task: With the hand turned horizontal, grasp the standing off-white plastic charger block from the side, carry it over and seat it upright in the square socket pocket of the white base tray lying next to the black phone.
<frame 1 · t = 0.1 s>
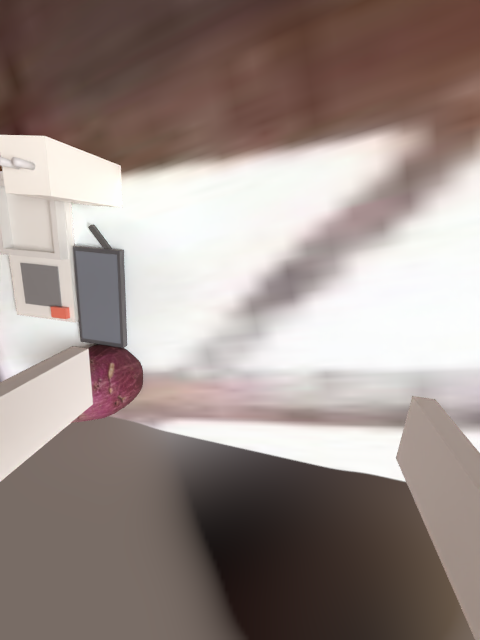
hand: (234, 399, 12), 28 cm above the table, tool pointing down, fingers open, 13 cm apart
white base tray: (44, 249, 43), on the table
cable: (91, 254, 42), on the table
phone: (103, 297, 44), on the table
vegetable: (114, 372, 47), on the table
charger: (104, 186, 39), on the table
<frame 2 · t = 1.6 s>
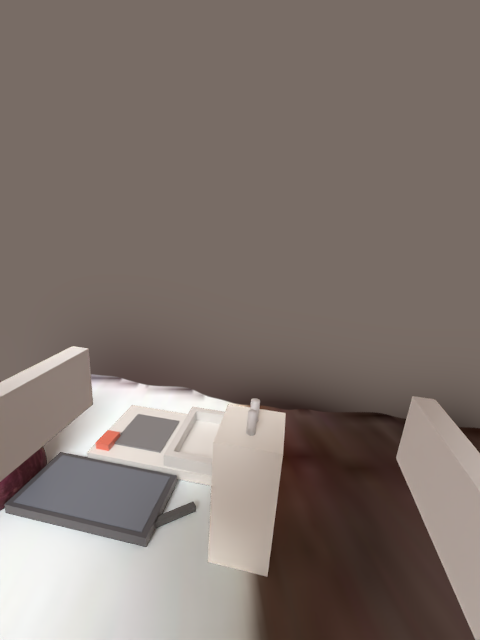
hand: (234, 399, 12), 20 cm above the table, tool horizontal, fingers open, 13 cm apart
white base tray: (185, 447, 38), on the table
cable: (160, 496, 31), on the table
phone: (97, 496, 30), on the table
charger: (242, 540, 27), on the table
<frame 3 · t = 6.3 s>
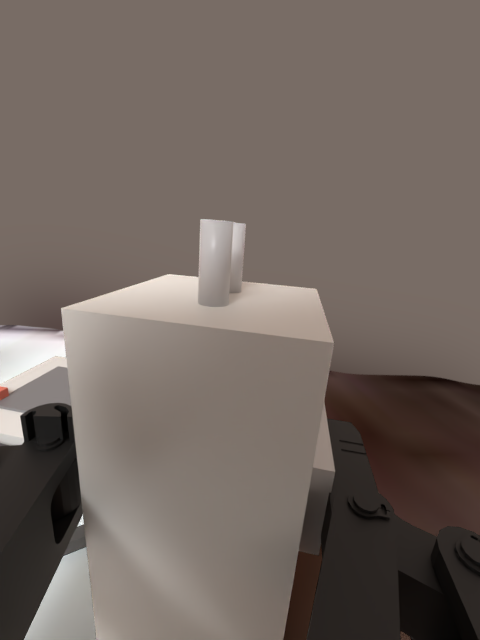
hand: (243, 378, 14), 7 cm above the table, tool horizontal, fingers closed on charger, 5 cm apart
white base tray: (126, 416, 22), on the table
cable: (44, 503, 15), on the table
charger: (204, 613, 11), on the table, touching gripper
when the fingers open (9 cm above the table, at t = 10.0 s): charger drops 1 cm, resting on white base tray.
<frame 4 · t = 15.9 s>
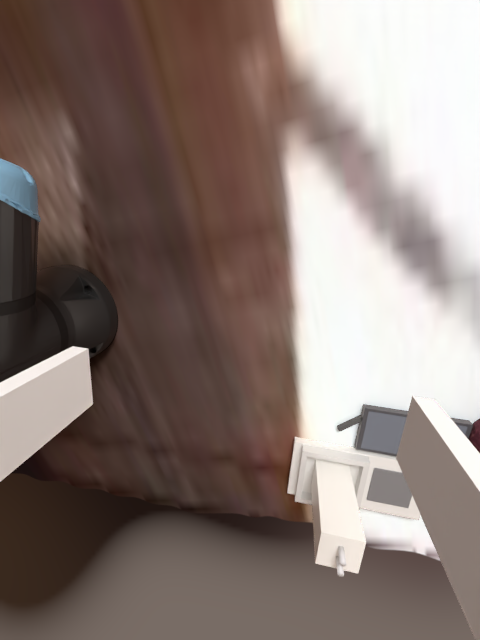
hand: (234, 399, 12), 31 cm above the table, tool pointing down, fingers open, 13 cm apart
white base tray: (355, 474, 47), on the table
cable: (364, 434, 45), on the table
phone: (409, 433, 44), on the table
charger: (329, 475, 47), point 1 cm above the table, touching white base tray
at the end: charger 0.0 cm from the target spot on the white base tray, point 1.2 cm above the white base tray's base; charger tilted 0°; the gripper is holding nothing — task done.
